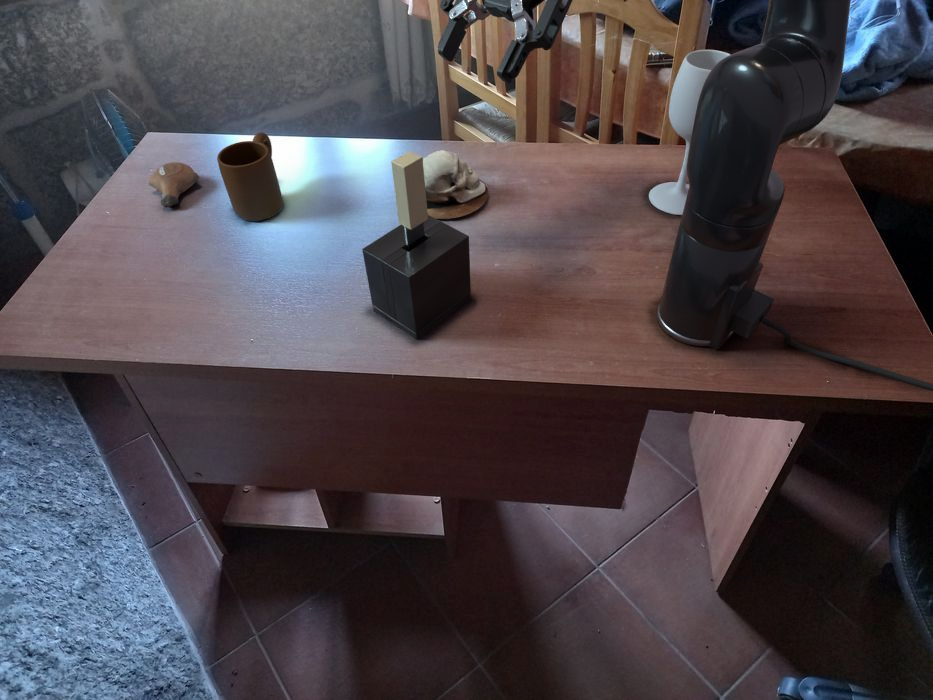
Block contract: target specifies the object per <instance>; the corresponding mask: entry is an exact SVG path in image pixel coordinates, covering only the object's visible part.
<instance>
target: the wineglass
mask: <svg viewBox="0 0 933 700" xmlns="http://www.w3.org/2000/svg"><path fill="white" fill-rule="evenodd" d="M729 55H731V53H728V52H726V51H721V50H716V49H698V50H694V51H691V52H689V53H688V54H686V55H685V57H684V59H683V60H682V63H681V65H680V67H679V69H678V71H677V75H676V77H675V80H674V82H673V86H672V90H671V93H670V99H669V106H668V118H669V122H670V125H671V127H672V129H673V130H674V132H675V133H676V134H677V135H678V136H679V137H680V138H683V140H685V152H684V158H683V163H682V167H681V169H680V173H679V176H678V180H677V181H669V182H668V181H667V182H662V183H660V184H657V185H655V186H654V187H652V189H650V191H649V193H648V199H649V201H650V203H651V204H652V205H653V206H654V208H656V209H658V210H659V211H662V212H664V213H667V214H671V215H675V216H682V213H683V209H684V205H685V201H686V197H687V193H688V189H689V183H687V179H688V175H687V159H688V153H689V148H690V142H691V137H692V131H693V126H694V120H695V115H696V110H697V105H698V101H699V97H700V93H701V90H702V88H703V85H704V83H705V80H706V78H707V77H708V75H709V73H710V72H711V70H712V69H713V68H714V66H715V65H716V64H717V63H718V62H720V61H721V60H722V59H724V58H726V57H727V56H729Z"/></svg>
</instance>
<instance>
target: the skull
mask: <svg viewBox="0 0 933 700" xmlns="http://www.w3.org/2000/svg"><path fill="white" fill-rule="evenodd" d="M423 168H424V179H425V191H426V202H427V213H428V215H430V216H432V217H433V218H435V219H437V220H440V219H441V220H449V219H455V218H460V217H464V216H468V215H470V214H472V213H473V212H476V211H478V209H480V208H481V207H483V206H484V204H485V203H486V202H487V200H488V196H489V189H488V187H487V185H486V183H485V182H484V181H482V180H481V179H480V175H479V174H478V172H477V171H475V170H474V169H473V168H472V167H470V166H468V163H467V162H466V161H460V157H459V155H458V153H455V152H453V151H449V150H446V149H445V150H444V149H441V150H436V151H433V152H431V153H429V154H428V155H426V156H425V157H424V158H423Z"/></svg>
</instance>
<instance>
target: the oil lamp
mask: <svg viewBox="0 0 933 700" xmlns="http://www.w3.org/2000/svg"><path fill="white" fill-rule="evenodd" d="M199 179H200V176H199V174H198V173H197V172H195V170H194V169H193V168H192V167H191V166H190V165H188V164H187V163H184V162H178V161H173V162H167V163H164V164H162V165H161V166H159V167H158V168H157V169H156V170H155V171H154V173H153V174H152V175H151V176H150V177H149V179H148V181H147V184H148V185H149V186H150V187H152V188H153V189H155V190H156V191H157V192H159V193H161V194H162V195H161V199H160V205H161V206H163V207H164V208H169V207H172V206H175V205H177V204H179V203H180V201H179V197H180V196H181V194H183V193H184V192H186V191H188V189H190V188H191V187H192V186H193V185H194V184H195V183H197V182H199Z"/></svg>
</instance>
